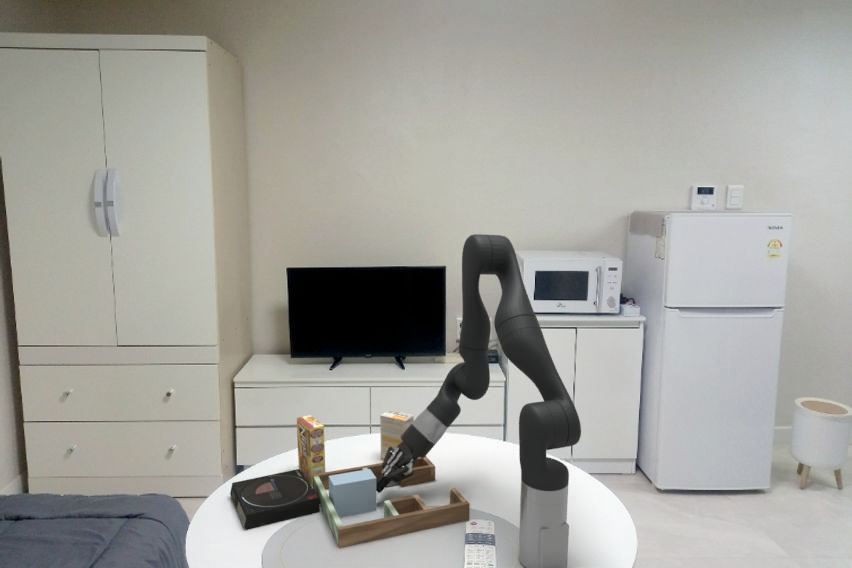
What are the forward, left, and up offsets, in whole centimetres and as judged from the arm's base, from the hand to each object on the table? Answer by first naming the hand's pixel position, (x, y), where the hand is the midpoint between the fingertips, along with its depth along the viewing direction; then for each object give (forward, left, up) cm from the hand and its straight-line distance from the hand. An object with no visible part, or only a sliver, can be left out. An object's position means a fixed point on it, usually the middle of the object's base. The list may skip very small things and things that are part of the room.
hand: (375, 489), depth 147 cm
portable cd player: (+9, +22, -4) cm, 24 cm away
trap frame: (-1, -3, -4) cm, 5 cm away
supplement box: (+21, -13, -4) cm, 25 cm away
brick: (0, +6, -4) cm, 7 cm away
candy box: (+19, +11, -4) cm, 22 cm away
